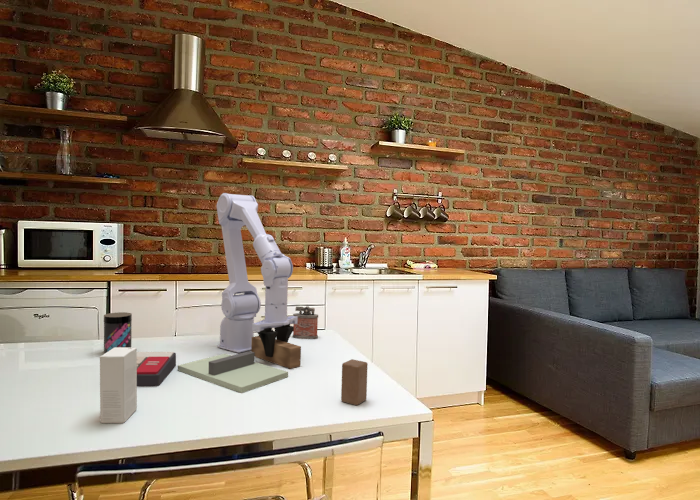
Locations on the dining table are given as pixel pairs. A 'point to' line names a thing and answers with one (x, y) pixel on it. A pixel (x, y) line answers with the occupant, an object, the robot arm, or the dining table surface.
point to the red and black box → (154, 367)
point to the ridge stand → (234, 371)
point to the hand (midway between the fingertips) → (275, 354)
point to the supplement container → (117, 330)
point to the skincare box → (118, 384)
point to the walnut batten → (278, 353)
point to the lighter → (305, 324)
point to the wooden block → (354, 382)
